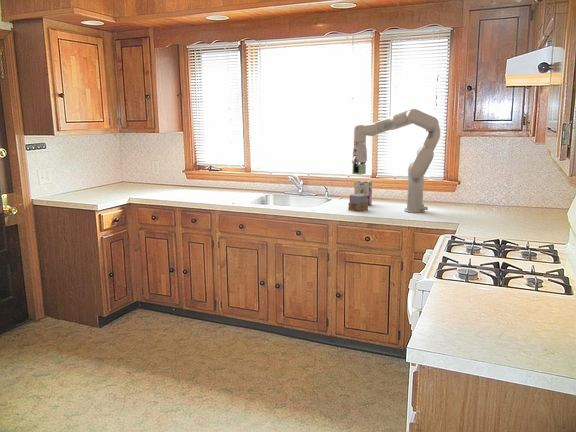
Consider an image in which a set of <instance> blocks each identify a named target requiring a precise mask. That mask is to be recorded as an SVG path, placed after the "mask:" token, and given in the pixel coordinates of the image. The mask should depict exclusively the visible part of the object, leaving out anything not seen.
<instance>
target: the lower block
mask: <svg viewBox="0 0 576 432" xmlns="http://www.w3.org/2000/svg"><path fill="white" fill-rule="evenodd" d="M347 208H348V211H351V212H356V213H357V212H359V213H362V212H365V210H366V211H368V210H369V206H368V203H363V204H354V203H350V202H348V207H347Z"/></svg>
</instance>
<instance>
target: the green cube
mask: <svg viewBox="0 0 576 432" xmlns="http://www.w3.org/2000/svg"><path fill="white" fill-rule="evenodd" d="M366 166H367V164H366V163H365V164H360V163H359V164H358V167H359V172H358V173H354V166H353V165H352V173H351V174H352V175H365V174H366V171H367V170H366V168H367V167H366Z"/></svg>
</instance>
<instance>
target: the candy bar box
mask: <svg viewBox="0 0 576 432" xmlns="http://www.w3.org/2000/svg"><path fill="white" fill-rule="evenodd" d="M354 194H363V195H367V203H368V207H369V206H371V205H372V203H373V202H372V201H373V198H372V197H373V195H372V194H373V181H372V180H355V181H354Z"/></svg>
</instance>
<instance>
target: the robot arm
mask: <svg viewBox="0 0 576 432" xmlns="http://www.w3.org/2000/svg"><path fill="white" fill-rule="evenodd" d="M412 124H413V125H414V126H418V127H419V128H422V129H424V130H425V136H424V138H423V140H422V142H421V145H420V146H419V148H418V150H417V152H416V156H415V158H414V160H413V162H411V163H410V164H409V165H408V169H407V177H408V178H407V197H406V198H407V200H406V201H407V202H406V208H404V212H406V213H410V214H411V213H413V214H415V213H416V214H418V213H419V214H420V213H425V212H426V211H428V210H429V207H428V206H425V204H423V203H424V182H425V180H424V179H425V178H424V176H425V175H426V173H427V170H428V169H429V167H430V165H431V163H432V162H433V159H434V157H435V156H434V155H435V152H434V151H435V149H436V147H437V145H438V143H439V141H440V137H441V127H440V125H439V120H438V118H436V117H435V116H432V115H430V114H428V113H426V112H423V111H421V110H419V109H416V108H411V109H409V110H406V111H403V112H400V113H398V114H393V115H391V116H389V117H387V118H384V119H382V120H378V121H375V122H373V123H368V124H364V123H363V124H362V123H360V124H359V123H358V124H357V123H356V124H354V125H353V150H352V160H351V162H352V167H353V166H354V173H358V172H359V167H358V164H366V163H367V161H368V152H367V151H368V149H367V137H368V136H369V137H375V136H377V135H379V134H381V133H385V132H388V131H393V130H398V129H400V128H403V127H406V126H409V125H412Z"/></svg>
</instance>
